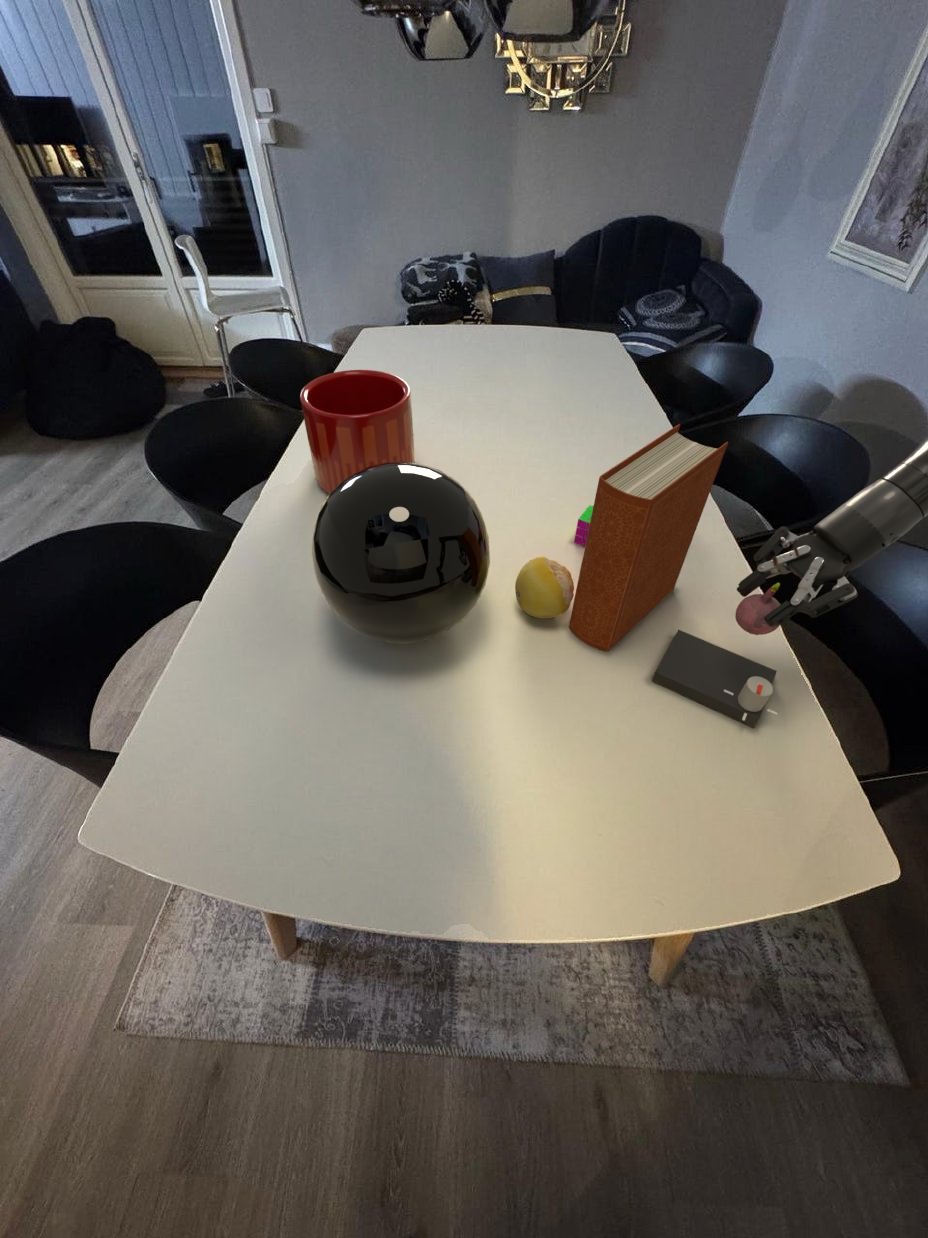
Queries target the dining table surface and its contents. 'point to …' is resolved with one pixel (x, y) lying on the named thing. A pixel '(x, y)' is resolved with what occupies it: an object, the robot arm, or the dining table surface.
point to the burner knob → (755, 694)
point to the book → (640, 535)
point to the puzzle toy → (583, 526)
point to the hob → (710, 675)
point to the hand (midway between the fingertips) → (753, 607)
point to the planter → (356, 423)
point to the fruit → (544, 588)
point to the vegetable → (757, 612)
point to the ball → (400, 552)
